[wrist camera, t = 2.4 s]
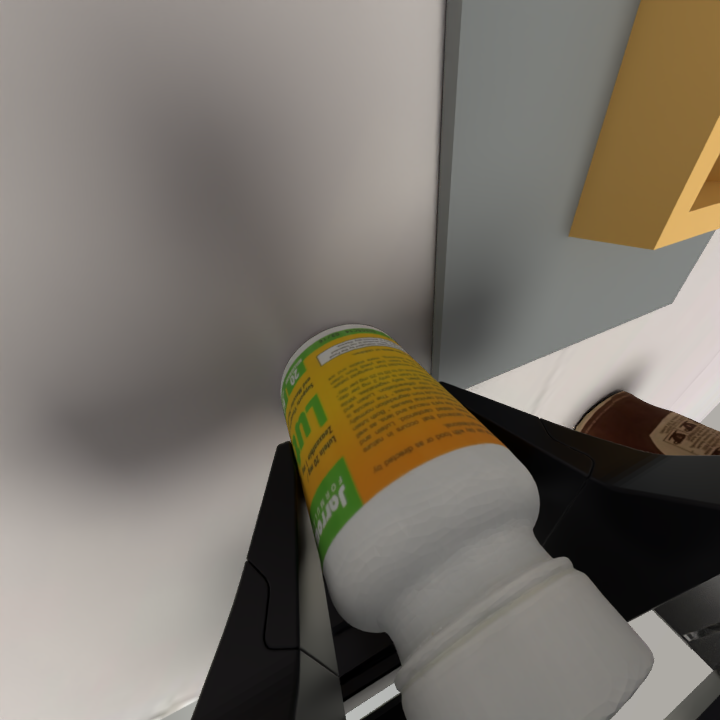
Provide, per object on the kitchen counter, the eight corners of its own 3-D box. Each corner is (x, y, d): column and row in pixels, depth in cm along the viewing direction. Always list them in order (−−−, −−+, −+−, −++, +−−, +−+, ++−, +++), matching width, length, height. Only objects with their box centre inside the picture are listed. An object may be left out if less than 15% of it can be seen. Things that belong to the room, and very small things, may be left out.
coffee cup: (597, 385, 22) (897, 549, 12) (650, 370, 26) (925, 493, 15) (550, 455, 27) (742, 618, 17) (599, 436, 30) (787, 564, 20)
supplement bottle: (268, 331, 9) (435, 942, 2) (404, 312, 11) (771, 581, 4) (286, 438, 12) (381, 846, 5) (392, 409, 14) (583, 672, 7)
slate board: (661, 300, 19) (671, 303, 19) (430, 393, 15) (437, 400, 14) (896, -115, 10) (929, -129, 9) (456, -221, 5) (478, -261, 5)
